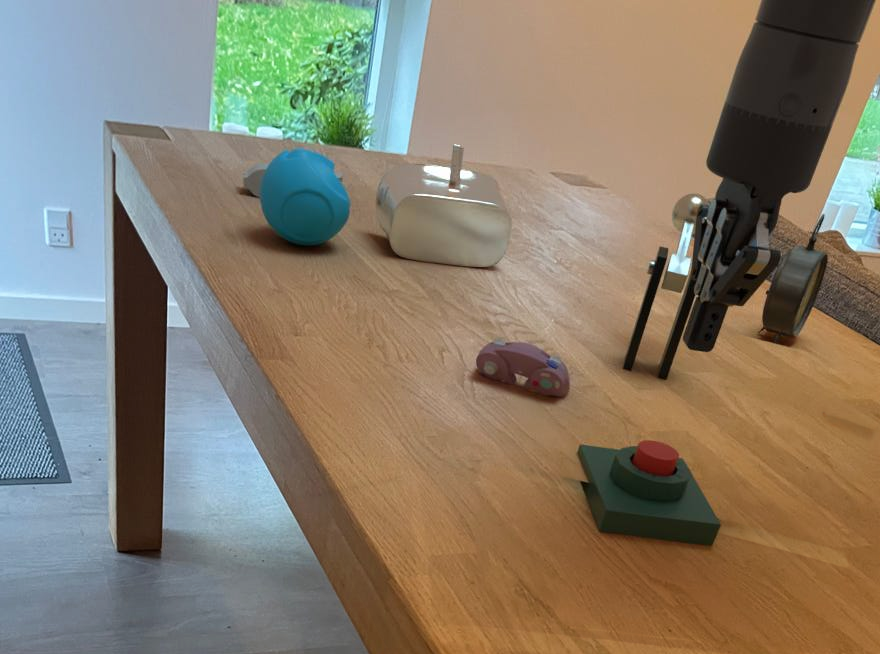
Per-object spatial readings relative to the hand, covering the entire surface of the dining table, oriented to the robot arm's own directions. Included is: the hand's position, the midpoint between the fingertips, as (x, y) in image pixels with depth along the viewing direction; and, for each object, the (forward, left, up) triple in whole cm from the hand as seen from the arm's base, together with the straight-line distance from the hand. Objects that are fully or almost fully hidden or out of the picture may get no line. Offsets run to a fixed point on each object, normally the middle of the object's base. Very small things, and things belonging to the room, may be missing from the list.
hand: (696, 347), depth 79 cm
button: (0, 0, -11) cm, 11 cm away
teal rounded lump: (+38, -59, -15) cm, 72 cm away
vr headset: (+19, -67, -15) cm, 71 cm away
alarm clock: (-27, -55, -15) cm, 63 cm away
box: (0, 0, -14) cm, 14 cm away
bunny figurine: (+42, -81, -15) cm, 92 cm away
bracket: (-5, -31, -14) cm, 34 cm away
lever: (-6, -36, -2) cm, 37 cm away
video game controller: (+10, -20, -15) cm, 27 cm away
